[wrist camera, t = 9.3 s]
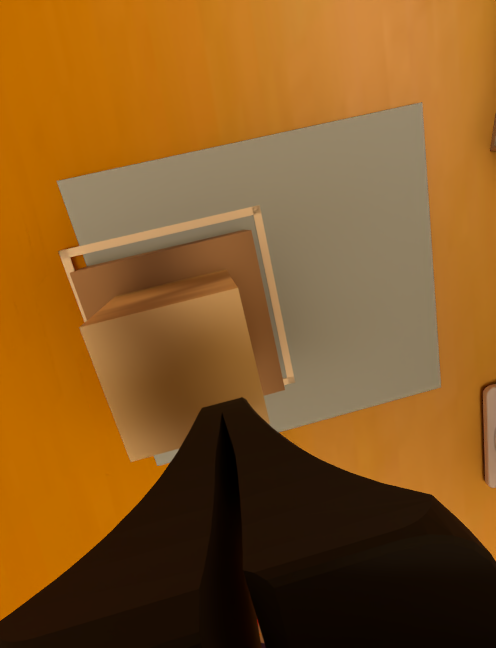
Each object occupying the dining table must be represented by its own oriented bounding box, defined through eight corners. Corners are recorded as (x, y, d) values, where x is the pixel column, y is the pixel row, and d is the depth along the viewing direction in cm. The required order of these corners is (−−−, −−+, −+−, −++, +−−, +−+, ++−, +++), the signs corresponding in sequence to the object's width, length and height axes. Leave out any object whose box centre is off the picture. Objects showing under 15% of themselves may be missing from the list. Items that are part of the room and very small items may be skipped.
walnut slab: (244, 229, 18) (251, 230, 16) (274, 370, 20) (285, 390, 18) (86, 266, 17) (69, 273, 15) (136, 407, 20) (128, 432, 17)
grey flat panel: (416, 105, 18) (423, 101, 17) (436, 384, 23) (442, 387, 22) (39, 186, 17) (33, 185, 16) (141, 465, 21) (140, 471, 21)
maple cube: (225, 269, 16) (238, 287, 11) (250, 368, 17) (269, 423, 13) (115, 296, 16) (79, 327, 11) (149, 395, 17) (130, 462, 12)
